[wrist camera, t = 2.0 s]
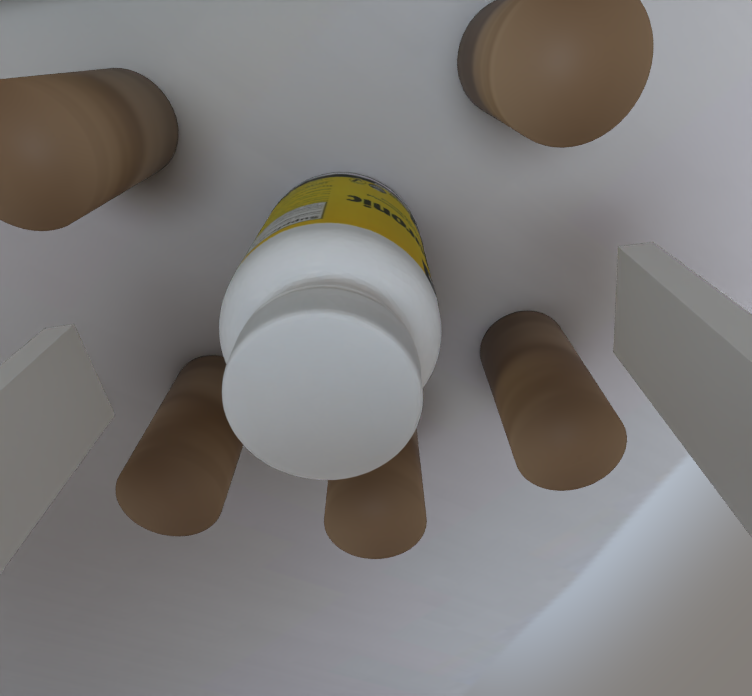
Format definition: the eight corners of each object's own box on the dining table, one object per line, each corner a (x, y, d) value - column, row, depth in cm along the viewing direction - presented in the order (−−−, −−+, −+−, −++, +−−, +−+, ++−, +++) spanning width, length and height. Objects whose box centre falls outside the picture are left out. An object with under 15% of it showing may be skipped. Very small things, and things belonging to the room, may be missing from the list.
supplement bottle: (448, 273, 20) (504, 445, 12) (320, 342, 21) (285, 543, 13) (370, 135, 18) (368, 220, 9) (233, 220, 19) (120, 365, 11)
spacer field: (205, 465, 24) (158, 583, 19) (56, 77, 17) (-86, 93, 12) (564, 420, 23) (620, 531, 18) (565, -14, 16) (659, -43, 11)
